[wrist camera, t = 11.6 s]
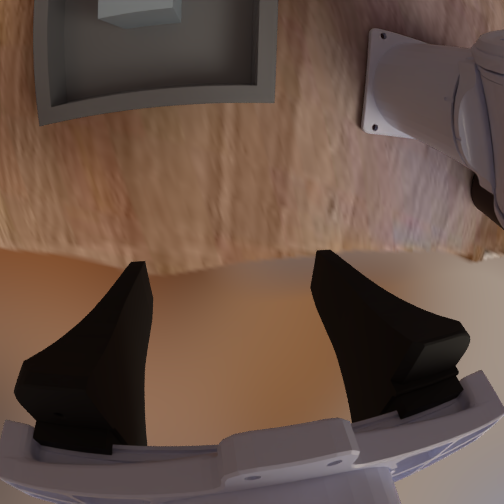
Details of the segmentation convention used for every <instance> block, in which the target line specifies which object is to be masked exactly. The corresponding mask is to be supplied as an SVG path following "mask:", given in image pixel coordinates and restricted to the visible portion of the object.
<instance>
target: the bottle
mask: <svg viewBox="0 0 504 504" xmlns="http://www.w3.org/2000/svg"><path fill="white" fill-rule="evenodd" d="M472 198H473V202H474V204H475V206H476V207H477V208H478V209H479V210H480V211H481V212H483V213H484V214H485V215H486V216H488V217H489V218H490V219H491V220H493V221H494V222H495V223H496V224H497V225H499V226H500V227H501V228H502V229H503V230H504V228H503V227H502V226H501V224H500V222H499V221H498V219H497V216H496V214H495V210H494V195H493V194H492V193H490V192H489V191H487V190H486V189H484V188H483V187H482V186H480V183H479V179H478V176H477V174H476V173H475V176H474V179H473V185H472Z"/></svg>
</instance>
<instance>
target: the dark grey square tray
mask: <svg viewBox="0 0 504 504" xmlns="http://www.w3.org/2000/svg"><path fill="white" fill-rule="evenodd" d="M277 22H278V0H182V4H181V23H171V24H160V25H151V26H143V27H136V28H129V29H123V28H121V27H118V26H116V25H113V24H110V23H108V22H105V21H102V20H99V19H98V0H35V1H34V22H33V54H34V76H35V90H36V101H37V110H38V118H39V126H43V125H48V124H52V123H56V122H61V121H66V120H71V119H76V118H81V117H87V116H92V115H98V114H104V113H111V112H118V111H125V110H133V109H141V108H151V107H161V106H173V105H187V104H205V103H274V101H275V77H276V51H277Z"/></svg>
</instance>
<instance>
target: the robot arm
mask: <svg viewBox="0 0 504 504" xmlns="http://www.w3.org/2000/svg"><path fill="white" fill-rule="evenodd" d="M381 33H382V34H383V35H384V39H382V38H381ZM374 124H375V125H376V127H375V129H374V130H372V126H373V125H374ZM361 129H362V130H363V131H364V132H366V133H369V134H379V135H387V136H395V137H403V138H410V139H417V140H419V141H421V142H423V143H425V144H427V145H429V146H430V147H432V148H434V149H436V150H438V151H440V152H441V153H443V154H445V155H447V156H449V157H450V158H452V159H454V160H456V161H457V162H459V163H461V164H462V165H464V166H466V167H467V168H469V169H471V170H472V171H474V172H475V173H476V174H477V176H478V179H479V183H480V186H482V187H483V188H484V189H486V190H487V191H489V192H490V193H492V194H493V195H494V210H495V214H496V216H497V219H498V221H499V222H500V224H501V226H502V227H503V228H504V30H498V31H492V32H488V33H485V34H482V35H481V36H480V37H479V38H478V40H477V41H476V43H475V44H473V46H472V47H471V49H470V48H463V47H455V46H445V45H434V44H428V43H425V42H422V41H420V40H416V39H413V38H410V37H407V36H404V35H401V34H397V33H394V32H390V31H386V30H383V29H379V28H372V29H371V30H370V31H369V42H368V58H367V71H366V83H365V94H364V103H363V113H362V121H361ZM311 291H312V295H313V299H314V302H315V305H316V308H317V310H318V313H319V315H320V317H321V320H322V322H323V324H324V327H325V329H326V331H327V334H328V336H329V338H330V340H331V343H332V345H333V347H334V350H335V353H336V355H337V359H338V362H339V366H340V370H341V373H342V376H343V381H344V384H345V389H346V393H347V398H348V403H349V408H350V413H351V419H352V423H351V424H350V421H347V420H344V419H341V418H331V419H323V420H318V421H313V422H307V423H302V424H296V425H290V426H285V427H278V428H270V429H262V430H254V431H248V432H243V433H238V434H233V435H231V436H229V437H227V438H225V439H223V440H222V441H221V442H220V443H219V445H203V446H161V447H160V446H147V438H146V424H145V400H144V379H145V363H146V356H147V349H148V343H149V337H150V330H151V323H152V314H153V296H152V291H151V287H150V283H149V278H148V273H147V268H146V263H145V261H139V262H131V263H130V264H129V265H128V266H127V268H126V269H125V270H124V272H123V273H122V274H121V276H120V277H119V278H118V280H117V281H116V282H115V284H114V285H113V286H112V287H111V288H110V290H109V291H108V292H107V294H106V295H105V296H104V297H103V298H102V299H101V301H100V302H99V303H98V304H97V305H96V306H95V308H94V309H93V310H92V311H91V312H90V313H89V314H88V315H87V316H86V317H85V318H84V319H83V320H82V321H81V322H79V324H77V325H76V326H75V327H74V328H72V329H71V330H70V331H69V332H68V333H66V334H65V335H64V336H63V337H61V338H60V339H59V340H57V341H56V342H55V343H53V344H52V345H50V346H49V347H47V348H46V349H44V350H43V351H41V352H39V353H37V354H36V355H34V356H32V357H30V358H29V359H27V360H25V361H24V362H23V365H22V367H21V370H20V373H19V376H18V379H17V383H16V385H15V389H14V394H15V396H16V399H17V400H18V401H19V403H20V404H21V405H22V406H23V407H24V408H25V409H26V410H27V412H28V413H30V415H31V416H33V418H34V419H35V420H36V425H35V428H34V427H32V426H30V425H27V424H24V423H20V422H15V421H10V420H5V423H4V427H3V431H2V435H1V439H0V480H2V481H4V482H5V483H7V484H9V485H10V486H12V487H14V488H16V489H18V490H19V491H21V492H23V493H25V494H27V495H29V496H31V497H35V498H39V499H42V500H46V501H49V502H53V503H56V504H401V502H400V499H399V496H398V493H397V490H396V487H395V485H394V482H396V481H398V480H401V479H403V478H405V477H407V476H409V475H411V474H414V473H416V472H418V471H420V470H422V469H424V468H426V467H428V466H430V465H432V464H434V463H436V462H438V461H440V460H442V459H444V458H445V457H447V456H449V455H451V454H453V453H455V452H456V451H458V450H460V449H462V448H464V447H465V446H467V445H469V444H471V443H472V442H474V441H476V440H477V439H478V438H479V437H481V436H482V435H483V434H484V433H485V432H486V431H488V430H489V429H490V428H491V427H492V426H493V425H494V424H495V423H497V421H499V420H500V419H501V418H502V417H503V416H504V406H503V405H502V403H501V401H500V400H499V398H498V396H497V394H496V392H495V391H494V389H493V387H492V386H491V384H490V382H489V381H488V379H487V377H486V376H485V374H484V373H483V371H482V370H479V371H477V372H475V373H473V374H470V375H468V376H466V377H464V378H463V379H461V380H460V381H459V380H458V379H457V377H456V375H458V373H459V371H458V369H457V368H456V364H457V363H458V362H459V360H460V359H461V357H462V356H463V354H464V353H465V351H466V350H467V348H468V346H469V343H470V336H469V334H468V333H467V331H466V330H465V328H464V327H463V326H462V324H461V323H460V322H459V321H456V320H453V319H449V318H446V317H442V316H439V315H436V314H434V313H431V312H428V311H426V310H423V309H421V308H418V307H416V306H414V305H412V304H410V303H408V302H406V301H404V300H402V299H399V298H398V297H396V296H394V295H393V294H391V293H389V292H388V291H386V290H384V289H383V288H381V287H380V286H378V285H377V284H375V283H374V282H372V281H371V280H369V279H368V278H366V277H365V276H364V275H362V274H361V273H360V272H359V271H357V270H356V269H355V268H353V267H352V266H351V265H350V264H348V263H347V262H346V261H344V260H343V259H342V258H341V257H339V256H338V255H337V254H335V253H334V252H332V251H331V250H318V251H317V252H316V258H315V264H314V270H313V276H312V281H311Z"/></svg>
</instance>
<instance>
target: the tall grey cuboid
mask: <svg viewBox="0 0 504 504" xmlns="http://www.w3.org/2000/svg"><path fill="white" fill-rule="evenodd" d="M181 4H182V0H98V19H99V20H102V21H105V22H108V23H110V24H113V25H116V26H118V27H121V28H123V29H129V28H136V27H143V26H151V25H160V24H171V23H181Z"/></svg>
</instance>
